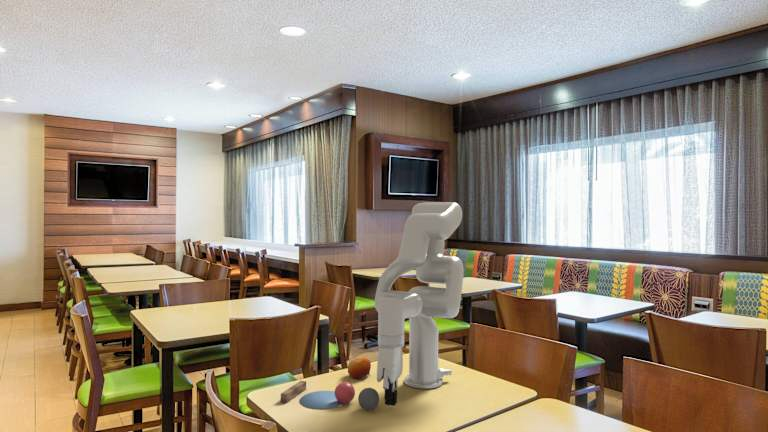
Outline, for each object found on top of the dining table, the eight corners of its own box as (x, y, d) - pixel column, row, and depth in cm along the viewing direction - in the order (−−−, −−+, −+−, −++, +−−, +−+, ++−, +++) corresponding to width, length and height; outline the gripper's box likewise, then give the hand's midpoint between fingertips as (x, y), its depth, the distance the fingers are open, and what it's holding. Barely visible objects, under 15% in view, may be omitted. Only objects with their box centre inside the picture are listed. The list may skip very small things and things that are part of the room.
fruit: (373, 377, 161) (361, 356, 162) (353, 388, 162) (341, 366, 163) (378, 370, 169) (367, 349, 170) (359, 380, 170) (348, 360, 171)
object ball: (358, 392, 146) (342, 380, 148) (359, 387, 141) (342, 375, 143) (346, 409, 143) (330, 397, 145) (346, 405, 138) (330, 392, 140)
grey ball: (372, 380, 141) (364, 395, 143) (359, 387, 136) (350, 402, 138) (386, 395, 138) (378, 410, 140) (373, 402, 133) (364, 418, 135)
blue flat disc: (339, 389, 154) (339, 388, 154) (353, 405, 141) (353, 404, 141) (295, 394, 149) (295, 394, 149) (305, 411, 136) (305, 411, 136)
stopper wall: (300, 388, 154) (300, 380, 154) (306, 389, 154) (306, 381, 154) (280, 402, 143) (280, 393, 143) (286, 403, 142) (286, 394, 142)
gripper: (387, 332, 147) (386, 393, 147) (369, 344, 132) (369, 412, 132) (411, 334, 144) (410, 396, 144) (395, 347, 130) (395, 416, 130)
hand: (390, 404), depth 138 cm, fingers closed
